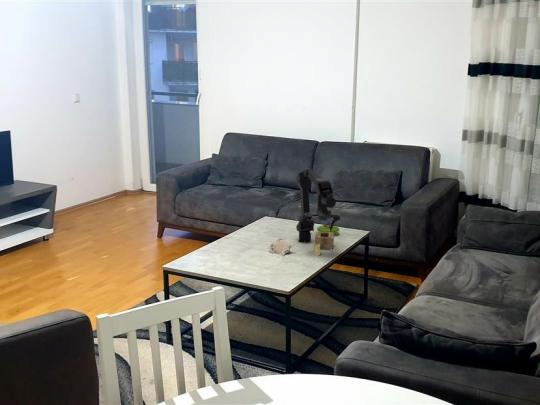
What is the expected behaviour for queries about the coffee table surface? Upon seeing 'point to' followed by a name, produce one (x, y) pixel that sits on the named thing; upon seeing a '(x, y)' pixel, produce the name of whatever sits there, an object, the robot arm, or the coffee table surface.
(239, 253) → the coffee table surface
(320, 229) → the potted plant
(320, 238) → the coin box
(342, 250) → the coffee table surface
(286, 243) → the turtle
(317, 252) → the token
